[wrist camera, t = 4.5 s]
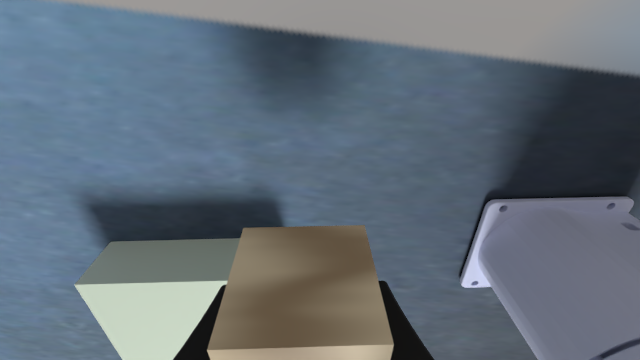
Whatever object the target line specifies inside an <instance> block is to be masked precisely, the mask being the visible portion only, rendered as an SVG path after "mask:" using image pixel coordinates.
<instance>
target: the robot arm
mask: <svg viewBox="0 0 640 360" xmlns="http://www.w3.org/2000/svg"><path fill="white" fill-rule="evenodd" d="M633 205H634V201H633V200H632V199H630V198H629V197H580V198H536V199H495V200H491V201H489V202H488V203H487V204H486V205H485V208H484V211H483V214H482V217H481V220H480V223H479V225H478V228H477V231H476V234H475V237H474V240H473V243H472V246H471V249H470V252H469V255H468V258H467V260H466V263H465V266H464V269H463V272H462V275H461V278H460V283H461V285H462V286H463V287H466V288H470V287H492V289H493V290H494V292H495V293H496V295H497V296H498V298H499V299H500V301H501V303H502V304H503V306H504V307H505V309H506V310H507V312H508V313H509V315H510V317H511V318H512V320H513V321H514V323H515V324H516V326H517V328H518V329H519V331H520V332H521V334H522V335H523V337H524V338H525V340H526V342H527V343H528V345H529V346H530V348H531V349H532V351H533V352H534V354H535V356H536V357H537V359H538V360H640V220H638V219H637V218H635V217H633V216H632V215H630V214H629V211H630V210H631V208H632V207H633ZM502 206H503V207H502ZM500 207H502V208H500ZM378 282H379V286H380V290H381V294H382V298H383V302H384V306H385V310H386V314H387V318H388V323H389V327H390V331H391V335H392V339H393V343H394V346H393V351H392V355H391V360H434V359H433V357H432V356H431V354H430V353H429V352H428V350H427V349H426V347H425V346H424V344H423V343H422V341H421V340H420V338H419V337H418V335H417V334H416V332H415V331H414V329H413V328H412V326H411V325H410V323H409V321H408V320H407V318H406V316H405V315H404V313H403V311H402V310H401V308H400V306H399V305H398V303H397V301H396V299H395V298H394V296H393V294H392V292H391V290H390V288H389V286H388V284H387V283H386V282H385V281H378ZM225 288H226V285H223V286H221V288H220V289H219V291H218V293H217V295H216V296H215V298H214V300H213V301H212V303H211V304H210V306H209V308H208V309H207V311H206V312H205V314H204V315H203V317H202V319H201V320H200V322H199V323H198V325H197V326H196V328H195V329H194V330H193V332H192V333H191V335H190V336H189V338H188V339H187V341H186V342H185V344H184V345H183V346H182V348H181V349H180V351H179V352H178V353H177V355H176V356H175V357H174V359H173V360H210V357H209V354H208V352H207V349H208V345H209V342H210V338H211V335H212V332H213V328H214V325H215V322H216V318H217V315H218V312H219V308H220V305H221V301H222V298H223V295H224V291H225Z"/></svg>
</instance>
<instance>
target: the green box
mask: <svg viewBox="0 0 640 360" xmlns="http://www.w3.org/2000/svg"><path fill="white" fill-rule="evenodd" d="M239 241H240V238H234V239H194V240H154V241H114V242H110V243H109V244H108V245H107V247H106V248H105V249H104V250H103V251H102V252H101V254H100V255H99V256H98V257H97V258H96V260H95V261H94V262H93V263H92V264H91V266H90V267H89V268H88V269H87V270H86V271H85V273H84V274H83V275H82V276H81V277H80V279H79V280H78V281H77V282H76V283H75V287H76V288H77V290H78V291H79V293H80V294H81V296H82V298H83V299H84V301H85V302H86V304H87V305H88V307H89V308H90V310H91V311H92V313H93V315H94V316H95V318H96V319H97V321H98V322H99V324H100V325H101V327H102V329H103V330H104V332H105V333H106V335H107V336H108V338H109V339H110V341H111V342H112V344H113V346H114V347H115V349H116V350H117V352H118V353H119V355H120V356H121V358H122V360H173V359H174V357H175V356H176V355H177V353H178V352H179V351H180V349H181V348H182V346H183V345H184V344H185V342H186V341H187V339H188V338H189V336H190V335H191V333H192V332H193V330H194V329H195V328H196V326H197V325H198V323H199V322H200V320H201V319H202V317H203V315H204V314H205V312H206V311H207V309H208V308H209V306H210V304H211V303H212V301H213V300H214V298H215V296H216V295H217V293H218V291H219V289H220V288H221V286H223V285H227V281H228V278H229V275H230V271H231V268H232V265H233V261H234V258H235V254H236V251H237V248H238V244H239Z"/></svg>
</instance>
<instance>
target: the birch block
mask: <svg viewBox="0 0 640 360" xmlns="http://www.w3.org/2000/svg"><path fill="white" fill-rule="evenodd" d="M393 346H394V343H393V339H392V335H391V331H390V327H389V323H388V318H387V314H386V310H385V306H384V302H383V298H382V294H381V290H380V286H379V282H378V278H377V274H376V270H375V266H374V262H373V258H372V254H371V250H370V246H369V242H368V238H367V234H366V230H365V226H364V225H355V226H307V227H258V228H243V231H242V234H241V238H240V241H239V244H238V248H237V251H236V254H235V258H234V261H233V265H232V268H231V271H230V275H229V278H228V281H227V285H226V288H225V291H224V295H223V298H222V301H221V305H220V308H219V312H218V315H217V318H216V322H215V325H214V328H213V332H212V335H211V338H210V342H209V345H208V349H207V352H208V354H209V357H210V360H391V355H392V351H393Z"/></svg>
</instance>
